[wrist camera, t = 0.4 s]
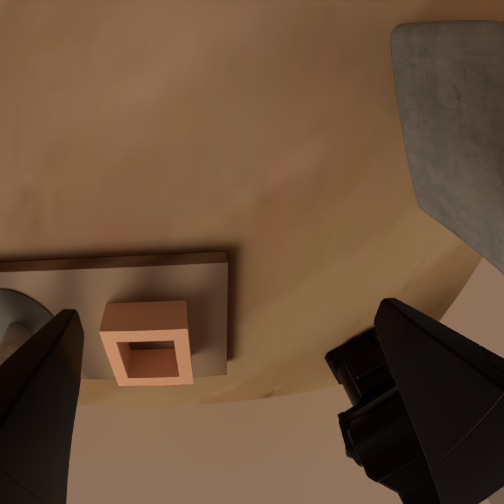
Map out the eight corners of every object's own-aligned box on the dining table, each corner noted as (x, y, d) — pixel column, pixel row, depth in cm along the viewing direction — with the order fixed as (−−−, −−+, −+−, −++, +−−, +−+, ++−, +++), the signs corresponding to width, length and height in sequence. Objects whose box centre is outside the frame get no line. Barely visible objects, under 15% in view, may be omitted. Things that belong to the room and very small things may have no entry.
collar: (186, 300, 23) (187, 328, 20) (191, 355, 26) (193, 383, 23) (105, 303, 22) (98, 331, 19) (121, 358, 25) (118, 385, 22)
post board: (225, 251, 23) (244, 329, 16) (224, 362, 29) (238, 435, 22) (-45, 264, 19) (-89, 324, 12) (2, 361, 24) (-19, 422, 18)
